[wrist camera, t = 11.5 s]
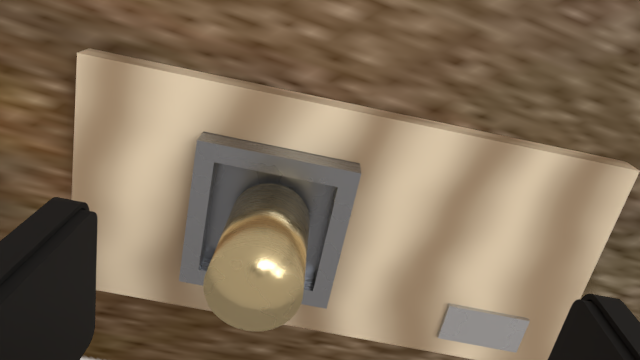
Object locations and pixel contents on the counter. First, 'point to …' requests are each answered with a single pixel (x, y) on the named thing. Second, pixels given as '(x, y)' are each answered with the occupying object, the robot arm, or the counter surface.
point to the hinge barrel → (260, 260)
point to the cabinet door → (342, 207)
